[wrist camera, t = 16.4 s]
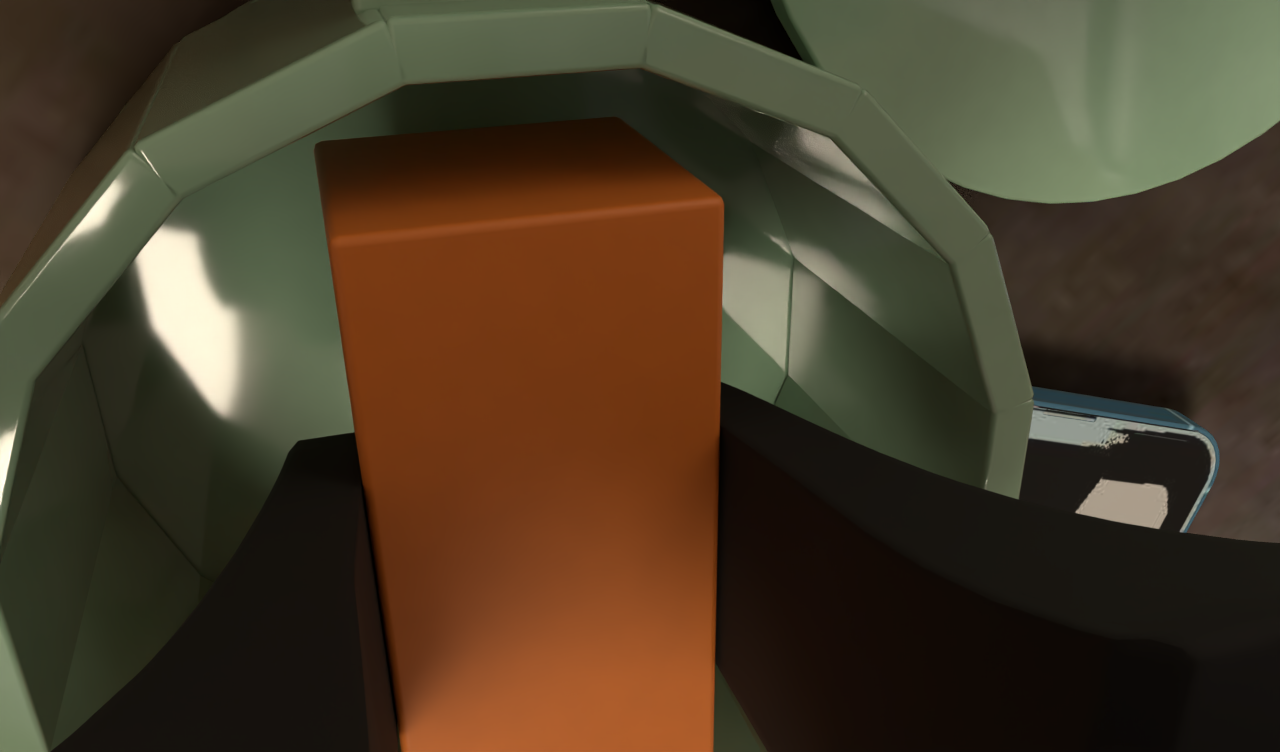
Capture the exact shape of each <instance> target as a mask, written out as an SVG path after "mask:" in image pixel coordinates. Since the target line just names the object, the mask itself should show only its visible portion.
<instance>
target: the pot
mask: <svg viewBox="0 0 1280 752" xmlns="http://www.w3.org/2000/svg"><path fill="white" fill-rule="evenodd" d="M603 117H618V118H621V119H622V120H623V121H624V122H626V123H627V124H628V125H630V126H631V127H632V128H633V129H635V130H636V131H637V132H639V133H640V134H641V135H642V136H644V137H645V138H646V139H648V140H649V141H650V142H651V143H653V144H654V145H655V146H657V147H658V148H659V149H660V150H662V151H663V152H664V153H666V154H667V155H668V156H669V157H671V158H672V159H673V160H675V161H676V162H677V163H678V164H680V165H681V166H682V167H684V168H685V169H686V170H687V171H689V172H690V173H691V174H692V175H694V176H695V177H696V178H698V179H699V180H700V181H701V182H703V183H704V184H705V185H707V186H708V187H709V188H710V189H712V190H713V191H714V192H716V193H717V194H718V195H719V196H721V197H722V200H723V202H724V243H723V293H722V344H721V382H723V383H726V384H728V385H731V386H733V387H736V388H738V389H740V390H743V391H745V392H747V393H749V394H752V395H754V396H756V397H758V398H760V399H763V400H765V401H767V402H769V403H771V404H773V405H775V406H778V407H780V408H782V409H784V410H786V411H788V412H790V413H792V414H795V415H797V416H799V417H801V418H803V419H805V420H807V421H810V422H812V423H814V424H816V425H818V426H820V427H823V428H825V429H827V430H829V431H831V432H834V433H836V434H838V435H840V436H843V437H845V438H847V439H849V440H852V441H854V442H856V443H859V444H861V445H864V446H866V447H868V448H871V449H873V450H875V451H878V452H880V453H883V454H885V455H888V456H890V457H893V458H896V459H898V460H901V461H903V462H906V463H908V464H911V465H914V466H916V467H919V468H921V469H924V470H927V471H929V472H932V473H935V474H938V475H941V476H944V477H947V478H950V479H953V480H955V481H958V482H962V483H965V484H968V485H972V486H975V487H978V488H982V489H985V490H988V491H992V492H995V493H998V494H1002V495H1005V496H1009V497H1012V498H1015V499H1019V495H1020V489H1021V482H1022V476H1023V470H1024V464H1025V458H1026V451H1027V445H1028V439H1029V433H1030V427H1031V420H1032V414H1033V408H1034V400H1033V399H1032V398H1033V396H1034V393H1033V389H1032V385H1031V381H1030V377H1029V374H1028V370H1027V366H1026V362H1025V358H1024V354H1023V351H1022V347H1021V343H1020V339H1019V335H1018V331H1017V327H1016V324H1015V320H1014V316H1013V312H1012V308H1011V304H1010V300H1009V297H1008V293H1007V289H1006V285H1005V281H1004V277H1003V274H1002V270H1001V266H1000V262H999V258H998V254H997V250H996V247H995V243H994V239H993V236H992V235H991V234H990V233H989V229H988V227H987V225H986V224H985V223H984V222H983V221H982V220H981V218H980V217H979V216H978V215H977V214H976V213H975V212H974V211H973V209H972V208H971V207H970V206H969V205H968V204H967V203H966V201H965V200H964V199H963V198H962V197H961V196H960V195H959V194H958V192H957V191H956V190H955V189H954V188H953V187H952V186H951V184H950V183H949V182H948V181H947V180H946V179H945V178H944V177H943V175H942V174H941V173H940V172H939V171H938V170H937V169H936V167H935V166H934V165H933V164H932V163H931V162H930V161H929V160H928V158H927V157H926V156H925V155H924V154H923V153H922V152H921V150H920V149H919V148H918V147H917V146H916V145H915V144H914V143H913V141H912V140H911V139H910V138H909V137H908V136H907V135H906V133H905V132H904V131H903V130H902V129H901V128H900V127H899V126H898V124H897V123H896V122H895V121H894V120H893V119H892V118H891V116H890V115H889V114H888V113H887V112H886V111H885V110H884V109H883V107H882V106H881V105H880V104H879V103H878V102H877V101H876V99H875V98H874V97H873V96H872V95H871V94H870V93H869V92H868V91H867V90H865V89H862V88H861V87H860V86H859V84H858V83H855V82H853V81H850V80H848V79H845V78H843V77H841V76H838V75H836V74H833V73H831V72H828V71H826V70H823V69H821V68H818V67H816V66H814V65H811V64H809V63H806V62H804V61H801V60H799V59H796V58H794V57H792V56H789V55H787V54H784V53H782V52H779V51H777V50H774V49H772V48H769V47H767V46H765V45H762V44H760V43H757V42H755V41H752V40H750V39H747V38H745V37H742V36H740V35H738V34H735V33H733V32H730V31H728V30H725V29H723V28H720V27H718V26H715V25H713V24H711V23H708V22H706V21H703V20H701V19H698V18H696V17H693V16H691V15H688V14H686V13H684V12H681V11H679V10H676V9H674V8H671V7H669V6H666V5H664V4H661V3H659V2H656V1H654V0H250V1H249V2H247V3H245V4H244V5H242V6H240V7H238V8H237V9H235V10H233V11H232V12H230V13H228V14H227V15H225V16H223V17H222V18H220V19H218V20H216V21H215V22H213V23H211V24H209V25H207V26H205V27H203V28H201V29H199V30H197V31H195V32H193V33H191V34H189V35H187V36H185V37H183V38H182V39H181V41H180V43H179V42H178V43H176V44H174V46H173V47H172V48H171V49H170V51H169V52H168V53H167V54H166V56H165V57H164V58H163V60H162V61H161V62H160V63H159V65H158V66H157V67H156V68H155V70H154V71H153V72H152V73H151V75H150V76H149V77H148V79H147V80H146V81H145V82H144V84H143V85H142V86H141V87H140V89H139V90H138V91H137V92H136V93H135V94H134V95H133V96H132V97H131V98H130V99H129V101H128V102H127V103H126V104H125V106H124V107H123V108H122V110H121V111H120V113H119V114H118V116H117V117H116V119H115V120H114V122H113V123H112V124H111V125H110V127H109V128H108V129H107V130H106V132H105V133H104V134H103V135H102V137H101V138H100V139H99V141H98V142H97V143H96V144H95V146H94V147H93V148H92V149H91V151H90V152H89V153H88V154H87V156H86V157H85V158H84V159H83V161H82V162H81V163H80V165H79V166H78V167H77V168H76V170H75V171H74V172H73V173H72V175H71V176H70V178H69V179H68V181H67V183H66V184H65V186H64V188H63V189H62V191H61V193H60V194H59V196H58V198H57V199H56V201H55V203H54V204H53V206H52V208H51V209H50V211H49V213H48V215H47V216H46V218H45V220H44V221H43V223H42V225H41V226H40V228H39V230H38V231H37V233H36V235H35V236H34V238H33V240H32V241H31V243H30V245H29V246H28V248H27V250H26V251H25V253H24V255H23V257H22V258H21V260H20V262H19V263H18V265H17V267H16V268H15V270H14V272H13V273H12V275H11V277H10V278H9V280H8V282H7V283H6V285H5V287H4V288H3V290H2V292H1V294H0V752H50V751H52V750H53V749H54V748H55V747H57V746H58V745H59V744H60V743H62V742H63V741H64V740H65V739H66V738H68V737H69V736H70V735H71V734H72V733H74V732H75V731H76V730H77V729H78V728H79V727H80V726H81V725H82V724H84V723H85V722H86V721H87V720H88V719H89V718H90V717H91V716H92V715H93V714H94V713H96V712H97V711H98V710H99V709H100V708H101V707H102V706H103V705H104V704H105V703H106V702H108V701H109V700H110V699H111V698H112V697H113V696H114V695H115V694H116V693H117V692H118V691H120V690H121V689H122V688H123V687H124V686H125V685H126V684H127V683H128V682H129V681H130V680H132V679H133V678H134V677H135V676H136V675H137V674H138V673H139V672H140V671H141V670H142V669H143V668H144V667H145V666H146V665H147V664H148V663H149V662H150V661H151V660H152V658H153V657H154V656H155V655H156V654H157V653H158V652H159V651H160V650H161V649H162V647H163V646H164V645H165V644H166V643H167V642H168V641H169V640H170V638H171V637H172V636H173V635H174V634H175V632H176V631H177V630H178V629H179V628H180V627H181V625H182V624H183V623H184V622H185V620H186V619H187V618H188V617H189V615H190V614H191V613H192V612H193V610H194V609H195V608H196V607H197V605H198V604H199V603H200V601H201V600H202V599H203V597H204V596H205V594H206V593H207V592H208V590H209V589H210V587H211V586H212V584H213V583H214V582H215V580H216V579H217V577H218V576H219V575H220V573H221V572H222V570H223V569H224V568H225V566H226V565H227V563H228V562H229V561H230V559H231V558H232V556H233V555H234V553H235V552H236V550H237V549H238V547H239V545H240V544H241V542H242V540H243V539H244V537H245V535H246V534H247V532H248V530H249V529H250V527H251V525H252V524H253V522H254V520H255V519H256V517H257V515H258V514H259V512H260V510H261V509H262V507H263V505H264V503H265V501H266V499H267V497H268V496H269V494H270V492H271V490H272V488H273V486H274V484H275V482H276V480H277V478H278V476H279V474H280V471H281V469H282V467H283V464H284V462H285V460H286V457H287V454H288V452H289V451H290V450H291V448H292V447H293V446H294V445H295V444H296V443H297V441H299V440H306V439H312V438H319V437H326V436H332V435H339V434H346V433H352V432H355V431H354V424H353V417H352V410H351V404H350V397H349V390H348V383H347V376H346V369H345V363H344V356H343V349H342V342H341V335H340V328H339V321H338V315H337V308H336V301H335V294H334V287H333V280H332V274H331V267H330V260H329V253H328V246H327V239H326V233H325V226H324V219H323V212H322V205H321V198H320V192H319V185H318V178H317V171H316V164H315V157H314V147H315V144H317V143H319V142H320V141H327V140H339V139H351V138H363V137H375V136H387V135H399V134H411V133H423V132H435V131H447V130H459V129H471V128H483V127H495V126H507V125H519V124H531V123H543V122H555V121H567V120H579V119H591V118H603ZM397 731H398V725H397ZM398 752H401V745H400V738H399V731H398ZM713 752H767V750H766V748H765V747H764V745H763V743H762V741H761V740H760V738H759V736H758V735H757V733H756V731H755V729H754V728H753V726H752V724H751V723H750V721H749V719H748V718H747V716H746V714H745V712H744V711H743V709H742V707H741V706H740V704H739V702H738V701H737V699H736V697H735V695H734V694H733V692H732V690H731V689H730V687H729V685H728V684H727V682H726V680H725V678H724V677H723V675H722V673H721V672H720V670H719V668H718V666H717V665H716V663H715V696H714V746H713Z"/></svg>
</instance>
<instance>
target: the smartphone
mask: <svg viewBox="0 0 1280 752" xmlns="http://www.w3.org/2000/svg"><path fill="white" fill-rule="evenodd" d="M1032 389H1033V393H1034V396H1033V398H1032V399H1033V400H1034V408H1033V414H1032V420H1031V427H1030V433H1029V439H1028V445H1027V451H1026V458H1025V464H1024V470H1023V476H1022V482H1021V489H1020V495H1019V500H1023V501H1027V502H1031V503H1035V504H1039V505H1043V506H1047V507H1051V508H1055V509H1059V510H1064V511H1069V512H1073V513H1078V514H1083V515H1087V516H1092V517H1097V518H1102V519H1106V520H1111V521H1116V522H1121V523H1127V524H1132V525H1138V526H1144V527H1150V528H1156V529H1162V530H1168V531H1176V532H1183V533H1186V532H1187V530H1188V529H1189V527H1190V525H1191V523H1192V521H1193V519H1194V518H1195V516H1196V514H1197V512H1198V510H1199V508H1200V507H1201V505H1202V503H1203V501H1204V499H1205V497H1206V496H1207V494H1208V492H1209V490H1210V488H1211V486H1212V484H1213V482H1214V480H1215V478H1216V474H1217V471H1218V467H1219V450H1218V446H1217V443H1216V441H1215V439H1214V437H1213V436H1212V435H1211V434H1210V433H1209V432H1208V431H1207V430H1205V429H1204V428H1202V427H1201V426H1199V425H1198V424H1196V423H1195V422H1193V421H1192V420H1190V419H1189V418H1187V417H1186V416H1184V415H1183V414H1181V413H1179V412H1177V411H1175V410H1172V409H1168V408H1162V407H1156V406H1150V405H1144V404H1138V403H1132V402H1126V401H1119V400H1113V399H1107V398H1101V397H1095V396H1089V395H1083V394H1077V393H1071V392H1064V391H1058V390H1052V389H1046V388H1040V387H1034V386H1032Z"/></svg>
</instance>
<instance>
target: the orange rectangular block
mask: <svg viewBox="0 0 1280 752" xmlns="http://www.w3.org/2000/svg"><path fill="white" fill-rule="evenodd" d="M314 157H315V164H316V171H317V178H318V185H319V192H320V198H321V205H322V212H323V219H324V226H325V233H326V239H327V246H328V253H329V260H330V267H331V274H332V280H333V287H334V294H335V301H336V308H337V315H338V321H339V328H340V335H341V342H342V349H343V356H344V363H345V369H346V376H347V383H348V390H349V397H350V404H351V410H352V417H353V424H354V431H355V437H356V444H357V450H358V457H359V464H360V470H361V477H362V484H363V491H364V498H365V504H366V511H367V518H368V525H369V532H370V539H371V545H372V552H373V559H374V566H375V573H376V580H377V587H378V593H379V600H380V607H381V614H382V621H383V628H384V634H385V641H386V648H387V655H388V662H389V669H390V675H391V682H392V689H393V696H394V703H395V710H396V717H397V725H398V731H399V738H400V745H401V752H713V746H714V696H715V646H716V595H717V545H718V495H719V444H720V394H721V344H722V293H723V243H724V202H723V200H722V197H721V196H719V195H718V194H717V193H716V192H714V191H713V190H712V189H710V188H709V187H708V186H707V185H705V184H704V183H703V182H701V181H700V180H699V179H698V178H696V177H695V176H694V175H692V174H691V173H690V172H689V171H687V170H686V169H685V168H684V167H682V166H681V165H680V164H678V163H677V162H676V161H675V160H673V159H672V158H671V157H669V156H668V155H667V154H666V153H664V152H663V151H662V150H660V149H659V148H658V147H657V146H655V145H654V144H653V143H651V142H650V141H649V140H648V139H646V138H645V137H644V136H642V135H641V134H640V133H639V132H637V131H636V130H635V129H633V128H632V127H631V126H630V125H628V124H627V123H626V122H624V121H623V120H622V119H621V118H618V117H603V118H591V119H579V120H567V121H555V122H543V123H531V124H519V125H507V126H495V127H483V128H471V129H459V130H447V131H435V132H423V133H411V134H399V135H387V136H375V137H363V138H351V139H339V140H327V141H320V142H319V143H317V144H315V147H314Z"/></svg>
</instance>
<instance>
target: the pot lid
mask: <svg viewBox="0 0 1280 752" xmlns="http://www.w3.org/2000/svg"><path fill="white" fill-rule="evenodd" d="M771 3H772V5H773V8H774V10H775V12H776V15H777V17H778V18H779V20H780V22H781V23H782V25H783V27H784V29H785V30H786V32H787V34H788V36H789V37H790V39H791V41H792V43H793V44H794V46H795V48H796V50H797V51H798V53H799V55H800V56H801V58H802V60H803V61H804V62H806V63H809V64H811V65H814V66H816V67H818V68H821V69H823V70H826V71H828V72H831V73H833V74H836V75H838V76H841V77H843V78H845V79H848V80H850V81H853V82H855V83H858V84H859V86H860V87H861V88H862V89H865V90H867V91H868V92H869V93H870V94H871V95H872V96H873V97H874V98H875V99H876V101H877V102H878V103H879V104H880V105H881V106H882V107H883V109H884V110H885V111H886V112H887V113H888V114H889V115H890V116H891V118H892V119H893V120H894V121H895V122H896V123H897V124H898V126H899V127H900V128H901V129H902V130H903V131H904V132H905V133H906V135H907V136H908V137H909V138H910V139H911V140H912V141H913V143H914V144H915V145H916V146H917V147H918V148H919V149H920V150H921V152H922V153H923V154H924V155H925V156H926V157H927V158H928V160H929V161H930V162H931V163H932V164H933V165H934V166H935V167H936V169H937V170H938V171H939V172H940V173H941V174H942V175H943V177H944V178H945V179H946V180H948V181H950V182H952V183H954V184H957V185H959V186H961V187H963V188H967V189H970V190H974V191H977V192H981V193H985V194H988V195H992V196H995V197H999V198H1003V199H1008V200H1017V201H1026V202H1035V203H1045V204H1056V203H1079V202H1094V201H1099V200H1104V199H1110V198H1115V197H1120V196H1125V195H1131V194H1136V193H1139V192H1142V191H1145V190H1148V189H1151V188H1154V187H1157V186H1160V185H1163V184H1166V183H1169V182H1172V181H1176V180H1179V179H1181V178H1183V177H1185V176H1187V175H1189V174H1192V173H1194V172H1196V171H1198V170H1200V169H1202V168H1204V167H1206V166H1208V165H1211V164H1213V163H1215V162H1217V161H1219V160H1221V159H1223V158H1225V157H1226V156H1228V155H1229V154H1231V153H1233V152H1234V151H1236V150H1238V149H1239V148H1241V147H1242V146H1244V145H1246V144H1247V143H1249V142H1250V141H1252V140H1254V139H1255V138H1257V137H1259V136H1260V135H1262V134H1263V133H1265V132H1266V131H1267V130H1269V129H1270V128H1271V127H1272V126H1274V125H1275V124H1276V123H1278V122H1279V121H1280V0H771Z"/></svg>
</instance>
